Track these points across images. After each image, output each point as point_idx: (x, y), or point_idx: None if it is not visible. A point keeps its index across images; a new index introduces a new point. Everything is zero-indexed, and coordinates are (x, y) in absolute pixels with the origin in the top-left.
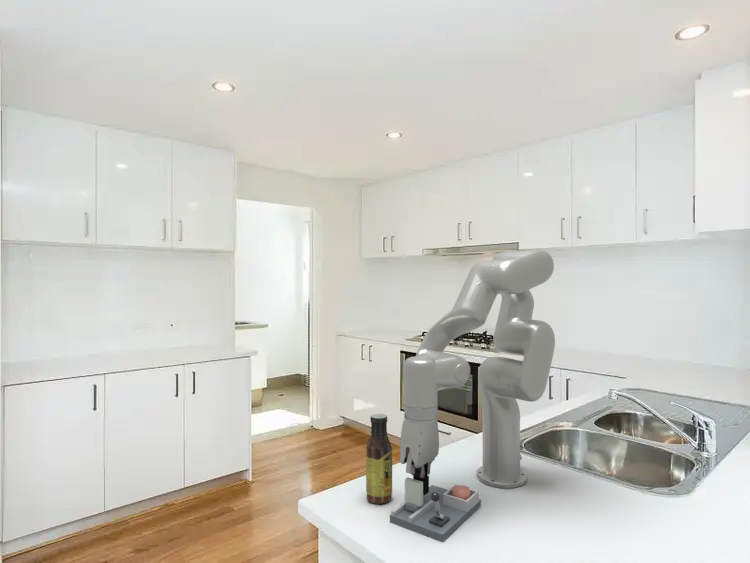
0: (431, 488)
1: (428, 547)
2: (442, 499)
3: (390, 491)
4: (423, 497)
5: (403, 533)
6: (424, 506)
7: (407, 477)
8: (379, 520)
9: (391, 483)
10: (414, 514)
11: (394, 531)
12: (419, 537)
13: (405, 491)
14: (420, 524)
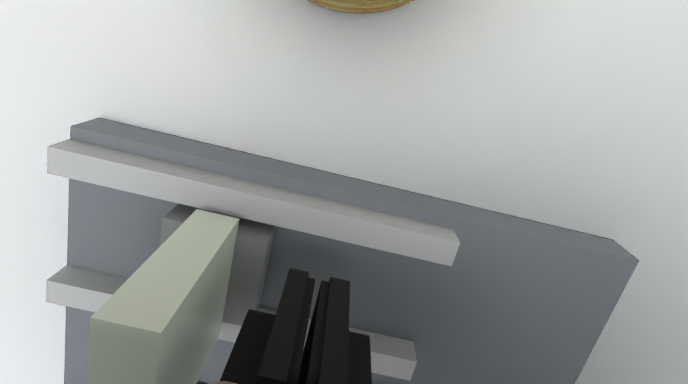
0: (572, 273)
1: (10, 369)
2: (430, 368)
3: (343, 9)
4: (414, 259)
5: (40, 233)
6: (232, 330)
7: (155, 330)
8: (78, 43)
9: (368, 5)
10: (101, 303)
11: (27, 181)
12: (58, 315)
13: (161, 250)
14: (82, 332)
